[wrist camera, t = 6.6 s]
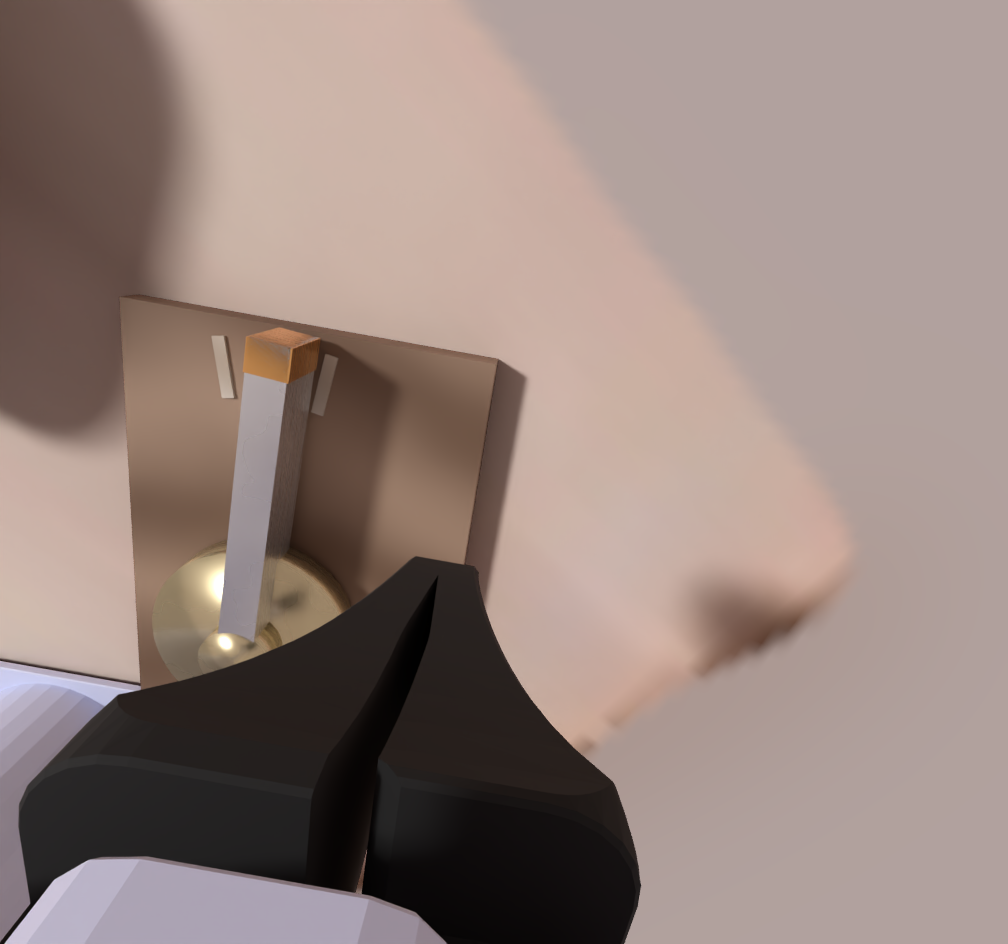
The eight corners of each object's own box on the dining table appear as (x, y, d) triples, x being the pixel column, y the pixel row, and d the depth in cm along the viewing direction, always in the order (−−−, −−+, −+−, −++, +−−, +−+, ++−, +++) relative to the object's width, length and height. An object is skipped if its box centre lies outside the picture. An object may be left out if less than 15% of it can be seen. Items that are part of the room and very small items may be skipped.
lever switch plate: (436, 734, 25) (432, 754, 24) (156, 684, 25) (139, 702, 24) (498, 358, 20) (496, 364, 19) (139, 294, 20) (116, 296, 19)
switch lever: (340, 716, 24) (319, 764, 21) (166, 673, 24) (127, 717, 21) (412, 361, 19) (394, 375, 16) (191, 302, 18) (143, 309, 16)
